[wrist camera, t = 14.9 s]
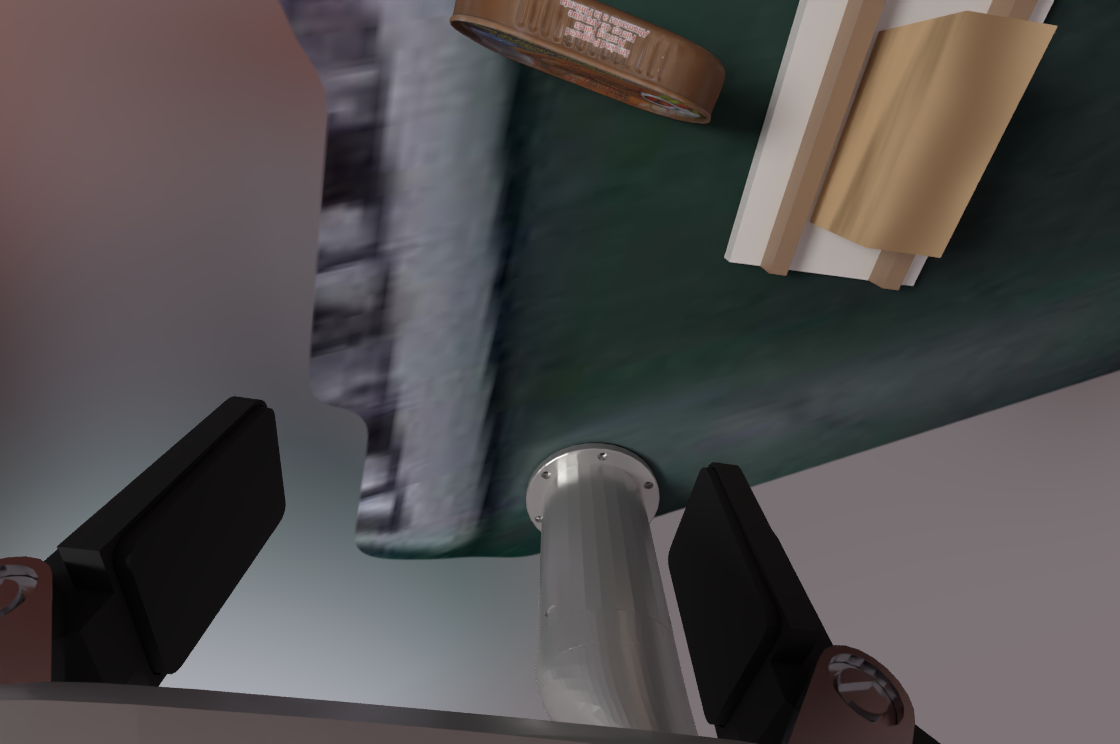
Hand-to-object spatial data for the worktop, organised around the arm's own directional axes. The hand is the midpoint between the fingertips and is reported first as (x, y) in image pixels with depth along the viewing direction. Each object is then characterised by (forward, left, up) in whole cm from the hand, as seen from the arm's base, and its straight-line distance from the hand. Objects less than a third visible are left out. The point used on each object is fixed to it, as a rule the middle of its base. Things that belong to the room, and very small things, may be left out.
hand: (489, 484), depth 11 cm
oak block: (+8, -21, -26) cm, 35 cm away
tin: (+10, -2, -28) cm, 30 cm away
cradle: (+8, -21, -28) cm, 36 cm away
